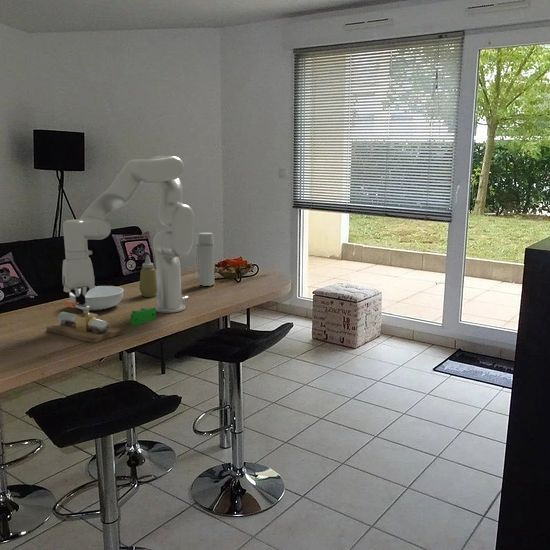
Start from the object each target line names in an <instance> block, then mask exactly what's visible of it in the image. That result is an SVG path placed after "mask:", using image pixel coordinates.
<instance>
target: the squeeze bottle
mask: <svg viewBox="0 0 550 550" xmlns="http://www.w3.org/2000/svg"><path fill="white" fill-rule="evenodd" d="M141 266H142V268H141V269H140V273H139V274H140V276H139V292H140V293H141V296H142V297H143V296H145V297H144V298H153V297H152V296H154V297H156V296H157V278H156V267H155V268H154V263H153V262H151V257H150V255H149V254H146V256H145V261H144V262H143V263H142V265H141ZM155 295H156V296H155Z"/></svg>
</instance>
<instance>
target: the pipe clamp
mask: <svg viewBox="0 0 550 550" xmlns="http://www.w3.org/2000/svg"><path fill="white" fill-rule="evenodd" d="M155 320H157V311H156V308H154V307H150V308H141V310H132V311H131V313H130V326H132V327H135V326H139V325H142V324H145V323H148V322H151V321H155Z"/></svg>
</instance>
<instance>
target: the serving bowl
mask: <svg viewBox="0 0 550 550" xmlns="http://www.w3.org/2000/svg"><path fill="white" fill-rule="evenodd" d="M78 290H79V294H80V292H81V288H78ZM124 291H125V290H124V288H123V287H120V286H115V285H114V286H113V285H97V286H96V285H95V288H93V289H91V290H89V291H88V292H87V293H86V295H85V301H86V303H85V304H84V305H89V306H90V310H89V311H103V309H104V310H107V309H110V308H112V307H115V306H116V305H118V304H119V303H120V302H121V300H122V299H123V297H124ZM68 293H69V294H68V295H69V300H73V301H76V298H75V295H74V294H73V293H71V292H68Z"/></svg>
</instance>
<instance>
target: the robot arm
mask: <svg viewBox="0 0 550 550" xmlns="http://www.w3.org/2000/svg"><path fill="white" fill-rule="evenodd" d="M184 172H185V164H184V161H183V160H182V159H181V158H180V157H178V156H175V155H155V156H153V157H151V158H149V159H147V158H146V159H145V158H144V159H142V158H141V159H130V160H129V161H128V162H126V163H125V164H124V166H123V167H122V169H121V170H120V171H119V172H118V174H117V176H116V177H115V179H114V180H113V181H112V182H111V184H110V186H109V187H107V189H106V190H105V191H104V192H102V193H101V194H100V195H99V196H98V197H96V199H94V201H92V202H91V203H90V204H89V205H88V206H87V208H86V209H85V211H84V212H83V213H82V215H81V216H80V218H79V219H67V220H64V221H63V223H62V230H63V241H64V242H63V243H64V254H65V259H63V260H62V273H61V274H62V277H61V278H62V286H63V292H65V293H70V292H71V293H73V294H74V295H75V298H76V301H77V302H79V304H82V305H84V304H85V303H86V301H85V295H86V293H87V292H88V291H89V290H91V289H93V288H95V286H96V285H95V283H96V281H95V275H94V274H95V273H94V267H93V263H92V260H91V257H89V256H90V255H93V251H92V250H89V249H88V240H96V241H97V240H104V239H106V238H108V237H109V235H110V234H111V230H112V227H111V224H110V223H109V221H107V219H105V218H106V217H108V215H109V214H110V213H111V214H112V212H114V211H115V210H118V209H120V208H122V207H124V206H126V205H128V204H129V202H130V201H131V200H132V198H133V197H134V195H135V194H136V192H137V191H138V189H139V188H140V186H141V185H142V184H155V183H156V184H157V183H158V185H159V190H160V193H159V194H160V195H159V196H160V197H159V207H158V221H159V223H160V225H162V226H165V227H168V228H171V230H168V229H164V230H163V229H162V230H160V231H158V232H156V233H155V235H154V237H153V240H152V248H153V252H154V258H155V269H156V278H157V293H156V299H157V300H156V301H157V303H156V304H155V305H154V306H153V308H156V313H157V312H158V313H163V314H166V313H167V314H169V313H179V312H182V311H185V310H186V305H185V304H184V302H186V301H189V300H190V297H189V296H188V295H185V296H184V295H183V296H182V274H181V273H182V272H181V261H180V258H185V257H186V256H188V255H189V254H190V253H191V251H192V247H193V243H194V234H195V223H196V222H195V221H196V220H195V219H196V218H195V213H194V210H193V208H192V207H191V206H189V205H188V204H185V203H183V195H184V192H183V190H184V189H183V184H182V181H181V180H180V177H182V176H183V174H184ZM78 289H81V292H80V294H79V290H78Z"/></svg>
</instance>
